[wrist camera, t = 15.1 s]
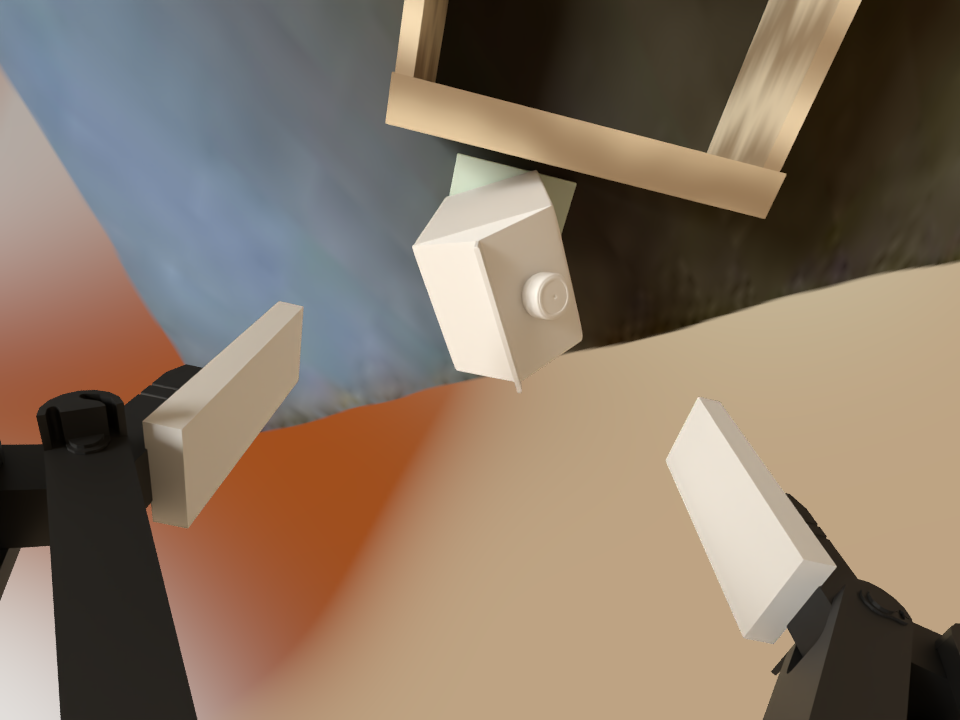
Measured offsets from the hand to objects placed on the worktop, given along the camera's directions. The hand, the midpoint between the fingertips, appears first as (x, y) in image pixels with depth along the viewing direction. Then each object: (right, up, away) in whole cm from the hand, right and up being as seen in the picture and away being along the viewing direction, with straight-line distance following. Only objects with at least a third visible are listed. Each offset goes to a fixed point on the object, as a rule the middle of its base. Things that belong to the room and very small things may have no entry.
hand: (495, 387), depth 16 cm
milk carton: (+1, +11, +22) cm, 25 cm away
